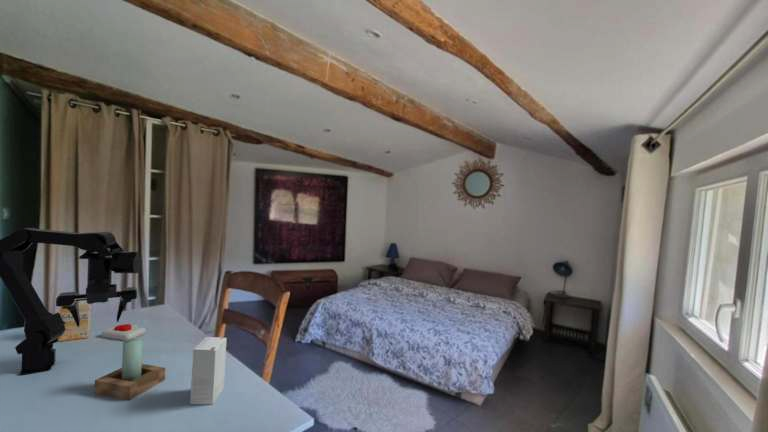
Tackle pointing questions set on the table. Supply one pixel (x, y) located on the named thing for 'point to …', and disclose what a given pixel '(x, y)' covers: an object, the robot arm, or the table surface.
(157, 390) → the table surface
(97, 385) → the square wooden frame
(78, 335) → the supplement box
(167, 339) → the table surface
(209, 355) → the skincare box
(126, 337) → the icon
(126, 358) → the sage peg
